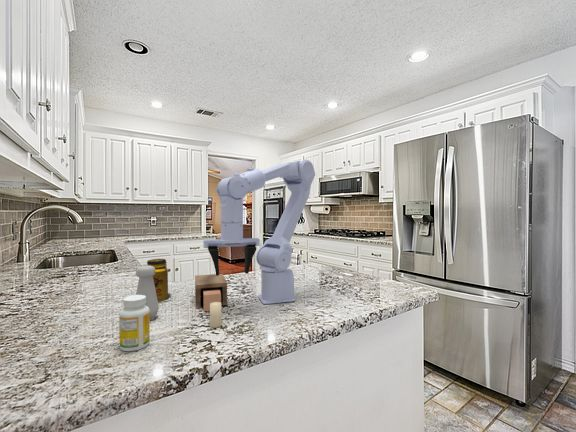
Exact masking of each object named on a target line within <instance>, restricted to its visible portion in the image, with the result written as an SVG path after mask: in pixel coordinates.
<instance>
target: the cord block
mask: <svg viewBox="0 0 576 432" xmlns="http://www.w3.org/2000/svg"><path fill="white" fill-rule="evenodd" d="M202 297H203V299H202V302H203V303H202V304H203V307H202V308H203V312H205V311H207V312H209V327H210V328H212V329H215V328H217V329H218V328H220V327H222V322H223V321H222V318H223V317H222V302H221V292H220V289H219V290H207V291H203V296H202ZM205 313H206V312H205Z"/></svg>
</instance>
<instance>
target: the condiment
mask: <svg viewBox="0 0 576 432" xmlns="http://www.w3.org/2000/svg"><path fill="white" fill-rule="evenodd" d="M146 266H153V267H154V268H155V275H153V280H154V285H155V290H156V295H157V300H158V303H164V302H169V301H172V294H171V292H169V280H168V279H169V271H168V267H167V259H166V258H155V259H154V258H152V259H149V260H147V262H146ZM169 298H170V299H169Z"/></svg>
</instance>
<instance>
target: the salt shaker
mask: <svg viewBox="0 0 576 432" xmlns="http://www.w3.org/2000/svg"><path fill="white" fill-rule="evenodd" d="M153 275H155V268H154V267H153V266H147V265H142V266H138V267H137V268H136V269H135V276H136V277H137V278H138V282H137V288H136V291H135V295H145V296H146V304H145V305H146V306H148V307H149V310H150V321H153V320H154V319H156V317H157V314H158V312H159V309H160V306H159V302H158V300H157V295H156V290H155V285H154V280H153Z"/></svg>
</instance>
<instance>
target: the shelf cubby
mask: <svg viewBox="0 0 576 432" xmlns="http://www.w3.org/2000/svg"><path fill="white" fill-rule="evenodd" d="M194 277H195V278H194V284H195V285H194V288H195V289H194V291H195V293H194V295H195V296H194V297H195V309H198V308H197V307H200V308H201V297H200V296H202V297H203V291H207V290H219V289H220V292H221V301H222V302H221V306H223V305H226V306H228V282H227V280H226V277H225V276H224V274H223V273H219V276H216V273H214V274H199V275H195V276H194Z"/></svg>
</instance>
